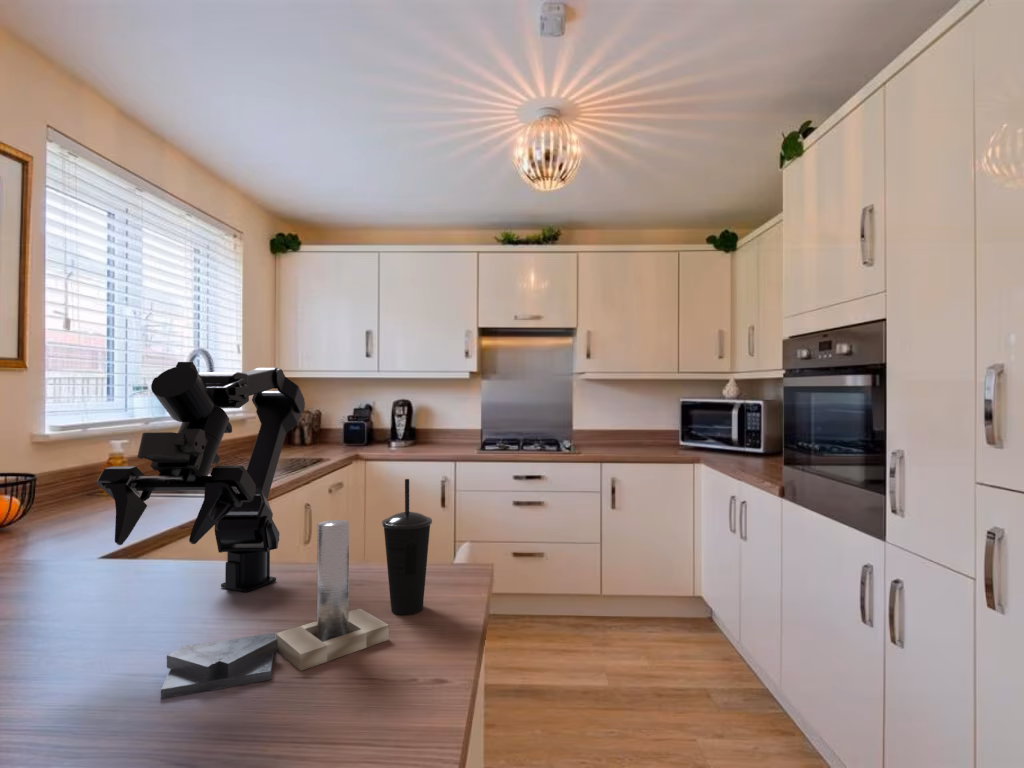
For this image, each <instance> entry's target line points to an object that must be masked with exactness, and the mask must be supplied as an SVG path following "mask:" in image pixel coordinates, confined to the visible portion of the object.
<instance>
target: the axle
mask: <svg viewBox="0 0 1024 768" xmlns="http://www.w3.org/2000/svg"><path fill="white" fill-rule="evenodd" d="M316 527H317V528H316V531H317V535H316V538H317V539H316V540H317V541H316V542H317V546H316V547H317V548H316V549H317V550H316V551H317V553H316V555H317V556H316V558H317V559H316V560H317V562H316V563H317V564H316V566H317V567H316V570H317V572H316V577H317V578H316V579H317V580H316V581H317V582H316V583H317V585H316V592H317V593H316V600H317V601H316V606H317V607H316V612H317V613H316V616H317V617H316V619H317V620H316V621H317V638H318V639H319V640H320V641H322V642H324V641H327V640H330V639H333V638H336V637H339V636H342V635H345V634H349V611H350V602H349V601H350V592H349V591H350V590H349V589H350V521H348V520H343V519H334V520H333V519H331V520H325V521H321V522H318V523H317V526H316Z"/></svg>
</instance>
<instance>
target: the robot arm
mask: <svg viewBox="0 0 1024 768" xmlns="http://www.w3.org/2000/svg"><path fill="white" fill-rule="evenodd" d="M150 388H151V389H150V390H151V391H152V393H153V395H154V396H155V397H156V399H157V400H158V401H159V402H160V404H161V405H162V407H163V408H164V409H165V411H166V412H167V413H168V415H169V416H170V417H171V418H172V419H173V420H174V421H176V422H180V423H181V424H180V427H179V429H178V430H177V432H171V431H168V432H165V431H164V432H160V431H159V432H156V431H155V432H152V431H151V432H142V435H141V439H140V444H139V448H138V451H137V458H138V459H146V460H148V461H151V464H150V467H151V469H152V470H153V471H158V475H145V474H144V473H143V472H142V471H141V470H140V469H139V468H138V467H137V466H131V465H130V466H109V467H105V468H104V469H103V470H102V471H101V474H100V475H99V477H98V478H97V480H96V485H97V486H98V487H100V488H101V489H102V490H103V491H104V492H106V494H107V495H109V497H111V498H112V499H113V500H114V505H115V527H114V543H115V544H116V545H118V546H122V545H123V544H124V543H125V542H126V540H127V539H128V538H129V537H130V535H131V533H133V530H134V528H135V527H136V525H137V523H138V522H139V520H140V519H141V517H142V516H143V514H144V512H145V510H146V509H147V507H148V504H147V503H146V501H147V500H148V499H150V497H151V495H152V493H153V492H166V491H167V492H168V491H169V492H171V491H176V492H177V491H178V492H187V491H188V492H190V491H191V492H192V491H194V492H195V491H200V492H202V491H204V496H203V502H202V504H201V507H200V508H199V512H198V513H197V516H196V518H195V521H194V524H193V526H192V528H191V531H190V535H189V538H188V539H189V540H188V541H189V544H191V545H196V544H197V543H198V542H199V541H200V540H201V539H202V538H203V537H204V536H205V535H206V534H207V533H208V532H209V531H210V530H211V529H212V528H213V527H214V536H215V541H216V546H217V551H218V553H219V554H220V553H227V560H226V562H225V572H224V573H225V574H224V575H225V577H224V579H225V582H223V583H220V587H221V588H224V589H229V590H235V591H239V592H244V593H246V592H250V591H253V590H256V589H258V588H261V587H264V586H266V585H268V584H271V583H273V582H275V581H277V577H275V576H271V569H270V568H271V551H274V550H277V549H278V547H279V541H280V531H279V530H278V528H277V525H276V523H275V522H274V520H273V517H274V513H273V511H272V508H271V506H270V503H269V501H268V498H269V496H270V495H269V494H270V491H271V488H272V485H273V480H274V477H275V473H276V470H277V466H278V465H279V464H278V463H279V459H280V456H281V453H282V449H283V446H284V443H285V439H286V436H287V434H288V432H290V431H291V430H292V429H294V427H296V426H297V425H298V424H299V421H300V418H301V416H302V414H303V413H304V411H305V407H306V402H305V401H306V400H305V398H304V395H303V392H302V390H301V389H300V387H299V385H298V384H297V383H295V382H293V381H292V380H291V379H289V378H288V377H287V376H286V375H285V373H284V371H283V369H282V368H278V367H256V368H254V369H252V370H246V371H242V372H239V371H232V372H230V371H227V372H225V371H223V372H221V371H219V372H218V371H217V372H216V371H212V372H203V371H202V372H198V369H197V367H196V364H195V363H194V362H193V361H178V362H177V363H176V365H175V367H172V368H169V369H166V370H164V371H163V372H162V373H160V374H159V375H158V376H156V377H154V378H153V379H152V381H151V385H150ZM272 389H273V390H272ZM274 389H275V390H274ZM276 389H277V390H276ZM250 396H252V398H251V402H252V403H253V405H254V407H255V409H256V411H255V412H256V415H257V418H258V419H259V423H260V426H259V429H258V430H259V431H258V433H257V436H256V440H255V443H254V446H253V449H252V452H251V455H250V458H249V461H248V463H247V467H246V468H245V467H244V465H217V464H219V461H220V459H221V458H220V456H219V454H218V451H219V448H220V445H221V443H222V440H223V437H224V434H232V433H233V426H232V424H231V422H230V418H229V416H228V414H227V412H226V411H225V410H224V409H240V408H241V407H243V406H244V405H245V404H247V403H249V402H250ZM214 464H216V466H214V467H213V468H212V466H213V465H214ZM211 468H212V470H211ZM210 470H211V473H210ZM209 474H210V475H209Z"/></svg>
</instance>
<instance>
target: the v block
mask: <svg viewBox="0 0 1024 768" xmlns="http://www.w3.org/2000/svg"><path fill="white" fill-rule="evenodd" d="M276 633H277V632H273V633H265V634H258V635H257V634H256V635H251V636H244V637H239V638H238V637H237V638H231V639H223V640H218V641H217V640H215V641H212V642H211V641H210V642H203V643H197V644H190V645H188V644H187V645H183V646H181V648H179V649H178V650H175V651H173V652H170V653H169V654H166V668H167V669H169V672H168V674H167V676H166V678H165V680H164V683H163V684H162V685H161V686H162V687H161V688H160V699H166V698H173V697H180V696H185V695H190V694H196V693H201V692H202V693H203V692H207V691H212V690H217V689H219V690H220V689H225V688H231V687H236V686H243V685H249V684H254V683H255V684H256V683H259V682H265V681H271V678H272V671H273V670H272V669H273V662H274V655H275V652H279V651H278V639H277V638H276Z"/></svg>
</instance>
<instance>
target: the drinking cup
mask: <svg viewBox="0 0 1024 768" xmlns="http://www.w3.org/2000/svg"><path fill="white" fill-rule="evenodd" d="M381 521H382V522H381V526H382V527H383V533H384V543H385V554H386V565H387V567H386V568H387V578H388V589H389V590H388V591H389V598H390V599H389V600H390V601H389V602H390V609H391V613H392V614H395V615H398V616H410V615H415V614H417V613H420V612H421V611H423V608H424V599H425V587H426V577H427V568H428V567H427V566H428V565H427V564H428V556H429V555H428V552H429V544H430V543H429V541H430V530H431V529H430V528H431V525H432V523H433V519H432V518H431V517H429V516H426V515H425V514H423V513H421V512H416V511H415V512H414V511H410V478H405V479H404V511H403V512H399V513H398V512H397V513H395V514H393V515H391V516H389V517H387V518H385V519H383V520H381Z"/></svg>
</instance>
